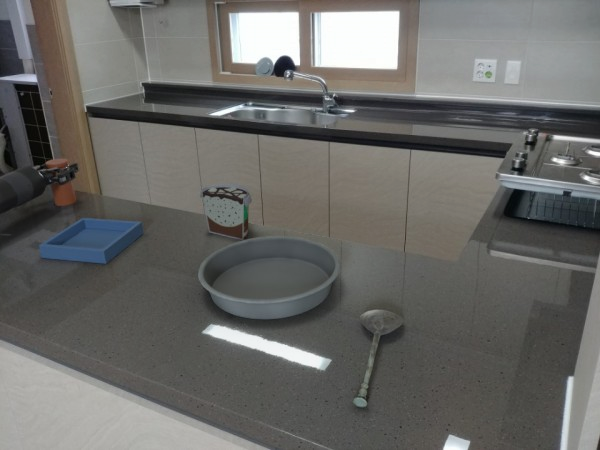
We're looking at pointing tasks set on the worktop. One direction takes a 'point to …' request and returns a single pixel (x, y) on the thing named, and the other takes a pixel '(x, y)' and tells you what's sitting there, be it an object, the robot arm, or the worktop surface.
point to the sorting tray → (91, 240)
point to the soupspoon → (375, 342)
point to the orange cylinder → (61, 192)
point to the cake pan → (269, 276)
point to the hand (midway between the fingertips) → (64, 166)
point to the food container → (227, 209)
